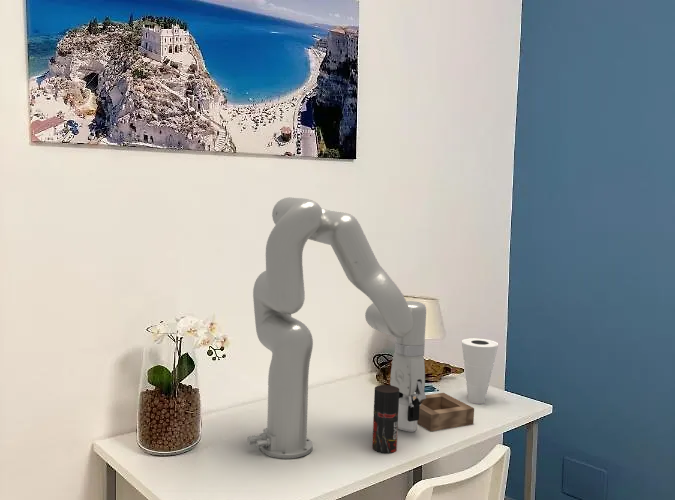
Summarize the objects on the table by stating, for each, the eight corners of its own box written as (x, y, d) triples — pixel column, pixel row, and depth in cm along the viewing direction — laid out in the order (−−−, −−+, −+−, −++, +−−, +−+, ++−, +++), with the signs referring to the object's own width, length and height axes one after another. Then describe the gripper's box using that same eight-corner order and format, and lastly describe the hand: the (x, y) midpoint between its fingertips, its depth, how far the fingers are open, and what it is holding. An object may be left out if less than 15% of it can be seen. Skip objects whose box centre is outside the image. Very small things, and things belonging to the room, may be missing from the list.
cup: (467, 393, 208) (470, 336, 206) (500, 400, 202) (503, 342, 200) (452, 401, 199) (455, 342, 197) (485, 410, 193) (489, 349, 191)
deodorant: (393, 455, 159) (396, 394, 158) (369, 451, 161) (372, 390, 159) (398, 445, 165) (401, 386, 163) (375, 442, 166) (377, 383, 165)
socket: (430, 431, 175) (431, 414, 174) (401, 413, 187) (402, 398, 187) (473, 424, 181) (474, 408, 181) (442, 407, 194) (443, 392, 193)
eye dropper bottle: (405, 433, 173) (408, 388, 171) (393, 426, 177) (395, 382, 176) (419, 431, 175) (421, 386, 174) (406, 424, 180) (408, 380, 178)
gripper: (380, 342, 180) (377, 408, 182) (416, 359, 165) (412, 430, 167) (404, 340, 183) (401, 404, 185) (441, 356, 168) (437, 425, 170)
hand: (406, 415), depth 176 cm, fingers closed on eye dropper bottle, 5 cm apart
